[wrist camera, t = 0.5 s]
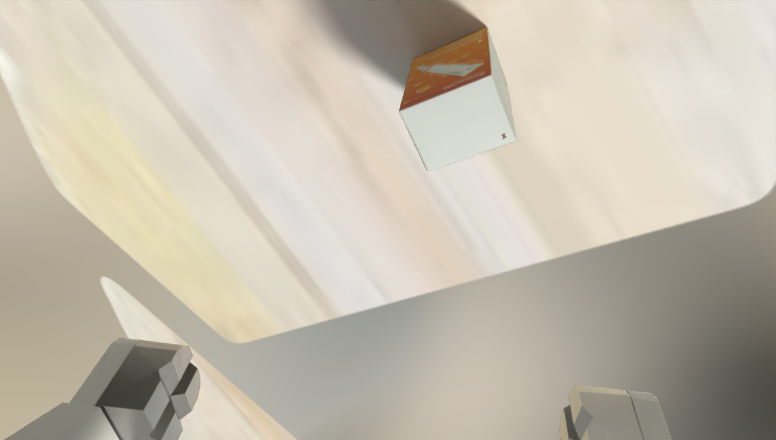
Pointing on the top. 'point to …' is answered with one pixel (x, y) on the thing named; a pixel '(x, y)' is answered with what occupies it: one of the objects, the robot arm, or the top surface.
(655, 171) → the top surface
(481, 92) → the small box
